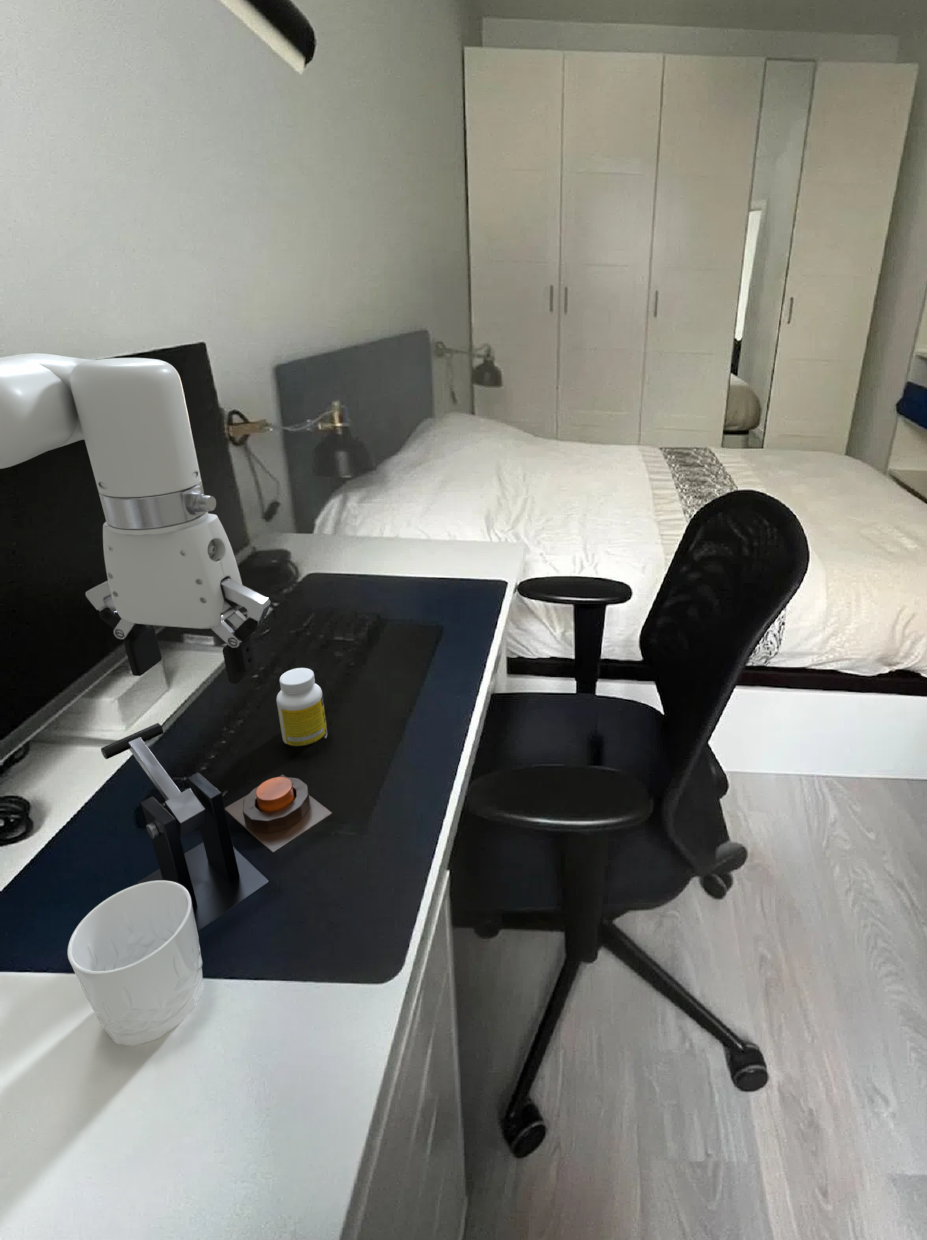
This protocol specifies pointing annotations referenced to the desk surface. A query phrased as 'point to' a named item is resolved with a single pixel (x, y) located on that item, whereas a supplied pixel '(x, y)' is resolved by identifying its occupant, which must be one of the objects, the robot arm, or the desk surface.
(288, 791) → the button
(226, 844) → the bracket
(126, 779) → the desk surface
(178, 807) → the lever
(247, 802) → the button box
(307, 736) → the supplement bottle
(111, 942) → the white cup
